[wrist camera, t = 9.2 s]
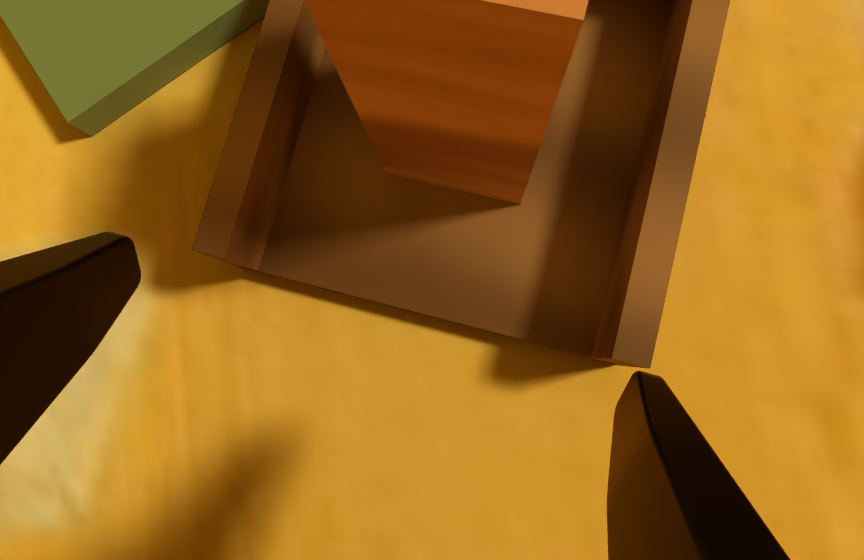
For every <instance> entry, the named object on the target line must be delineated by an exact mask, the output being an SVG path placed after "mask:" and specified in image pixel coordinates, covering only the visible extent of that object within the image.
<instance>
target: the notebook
mask: <svg viewBox="0 0 864 560" xmlns="http://www.w3.org/2000/svg"><path fill="white" fill-rule="evenodd" d="M269 2H270V0H0V16H1V18H2V19H3V21H4V22H5V24H6V26H7V27H8V29H9V30H10V32H11V34H12V35H13V37H14V38H15V40H16V42H17V43H18V45H19V46H20V48H21V49H22V51H23V53H24V54H25V56H26V57H27V59H28V61H29V62H30V64H31V65H32V67H33V69H34V70H35V72H36V73H37V75H38V76H39V78H40V80H41V81H42V83H43V84H44V86H45V88H46V89H47V91H48V92H49V94H50V96H51V97H52V99H53V100H54V102H55V103H56V105H57V107H58V108H59V110H60V111H61V113H62V115H63V116H64V118H65V119H66V121H67V123H69V124H71V125H72V126H74V127H76V128H78V129H80V130H81V131H83V132H85V133H87V134H88V135H90V136H93V135H94V134H96V133H97V132H99V131H100V130H101V129H103V128H104V127H106V126H107V125H109V124H110V123H112V122H113V121H114V120H116V119H117V118H119V117H120V116H122V115H123V114H124V113H126V112H127V111H129V110H130V109H132V108H133V107H134V106H136V105H137V104H139V103H140V102H142V101H143V100H145V99H146V98H147V97H149V96H150V95H152V94H153V93H155V92H156V91H157V90H159V89H160V88H162V87H163V86H165V85H166V84H167V83H169V82H170V81H172V80H173V79H175V78H176V77H177V76H179V75H180V74H182V73H183V72H185V71H186V70H188V69H189V68H190V67H192V66H193V65H195V64H196V63H198V62H199V61H200V60H202V59H203V58H205V57H206V56H208V55H209V54H210V53H212V52H213V51H215V50H216V49H218V48H219V47H221V46H222V45H223V44H225V43H226V42H228V41H229V40H231V39H232V38H233V37H235V36H236V35H238V34H239V33H241V32H242V31H243V30H245V29H246V28H248V27H249V26H251V25H252V24H253V23H255V22H256V21H258V20H259V19H261V18H262V17H264V16H265V14H266V11H267V8H268V5H269Z"/></svg>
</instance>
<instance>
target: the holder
mask: <svg viewBox="0 0 864 560" xmlns="http://www.w3.org/2000/svg"><path fill="white" fill-rule="evenodd" d="M729 3H730V0H588V5H587V9H586V13H585V17H584V21H583V24H582V27H581V30H580V32H579V35H578V38H577V41H576V44H575V47H574V50H573V53H572V56H571V59H570V61H569V64H568V67H567V70H566V73H565V76H564V79H563V82H562V85H561V88H560V91H559V93H558V96H557V99H556V102H555V105H554V108H553V111H552V114H551V117H550V120H549V123H548V125H547V128H546V131H545V134H544V137H543V140H542V143H541V146H540V149H539V152H538V154H537V157H536V160H535V163H534V166H533V169H532V172H531V175H530V178H529V181H528V184H527V186H526V189H525V192H524V195H523V198H522V201H521V204H520V205H519V204H515V203H510V202H506V201H502V200H497V199H493V198H489V197H484V196H480V195H476V194H472V193H467V192H463V191H459V190H454V189H450V188H446V187H441V186H437V185H433V184H428V183H424V182H420V181H415V180H411V179H407V178H402V177H398V176H394V175H389V174H386V172H385V170H384V168H383V166H382V164H381V162H380V159H379V157H378V155H377V153H376V151H375V149H374V147H373V145H372V143H371V141H370V138H369V136H368V134H367V132H366V130H365V128H364V126H363V124H362V122H361V120H360V118H359V115H358V113H357V111H356V109H355V107H354V105H353V103H352V101H351V99H350V97H349V95H348V92H347V90H346V88H345V86H344V84H343V82H342V80H341V78H340V76H339V74H338V72H337V69H336V67H335V65H334V63H333V61H332V59H331V57H330V55H329V53H328V51H327V48H326V46H325V44H324V42H323V40H322V38H321V36H320V34H319V32H318V30H317V28H316V25H315V23H314V21H313V19H312V17H311V15H310V13H309V11H308V9H307V7H306V5H305V2H304V0H270V2H269V5H268V8H267V11H266V14H265V18H264V21H263V24H262V27H261V30H260V34H259V37H258V40H257V43H256V46H255V50H254V53H253V56H252V59H251V62H250V66H249V69H248V72H247V75H246V78H245V81H244V85H243V88H242V91H241V94H240V97H239V101H238V104H237V107H236V110H235V113H234V117H233V120H232V123H231V126H230V129H229V133H228V136H227V139H226V142H225V145H224V148H223V152H222V155H221V158H220V161H219V164H218V168H217V171H216V174H215V177H214V180H213V184H212V187H211V190H210V193H209V196H208V199H207V203H206V206H205V209H204V212H203V215H202V219H201V222H200V225H199V228H198V231H197V235H196V238H195V241H194V244H193V247H192V250H194V251H196V252H199V253H202V254H205V255H208V256H210V257H213V258H216V259H219V260H222V261H224V262H227V263H230V264H233V265H236V266H238V267H242V268H245V269H249V270H253V271H257V272H261V273H265V274H268V275H272V276H276V277H280V278H284V279H288V280H292V281H295V282H299V283H303V284H307V285H311V286H315V287H318V288H322V289H326V290H330V291H334V292H338V293H342V294H345V295H349V296H353V297H357V298H361V299H365V300H368V301H372V302H376V303H380V304H384V305H388V306H392V307H395V308H399V309H403V310H407V311H411V312H415V313H418V314H422V315H426V316H430V317H434V318H438V319H442V320H445V321H449V322H453V323H457V324H461V325H465V326H468V327H472V328H476V329H480V330H484V331H488V332H492V333H495V334H499V335H503V336H507V337H511V338H515V339H518V340H522V341H526V342H530V343H534V344H538V345H542V346H545V347H549V348H553V349H557V350H561V351H565V352H568V353H572V354H576V355H580V356H584V357H588V358H592V359H595V360H599V361H603V362H607V363H611V364H615V365H621V366H631V367H640V368H650V366H651V362H652V357H653V353H654V348H655V343H656V339H657V334H658V330H659V325H660V320H661V316H662V311H663V307H664V302H665V297H666V293H667V288H668V284H669V279H670V274H671V270H672V265H673V261H674V256H675V251H676V247H677V242H678V238H679V233H680V228H681V224H682V219H683V215H684V210H685V205H686V201H687V196H688V192H689V187H690V182H691V178H692V173H693V168H694V164H695V159H696V155H697V150H698V145H699V141H700V136H701V132H702V127H703V122H704V118H705V113H706V109H707V104H708V99H709V95H710V90H711V86H712V81H713V76H714V72H715V67H716V63H717V58H718V53H719V49H720V44H721V40H722V35H723V30H724V26H725V21H726V17H727V12H728V7H729Z"/></svg>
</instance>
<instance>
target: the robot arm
mask: <svg viewBox="0 0 864 560" xmlns="http://www.w3.org/2000/svg"><path fill="white" fill-rule="evenodd" d="M140 279H141V270H140V266H139V262H138V258H137V254H136V250H135V246H134V243H133V241H132V240H131V239H130V238H129V237H127V236H124V235H120V234H116V233H112V232H104V233H100V234H96V235H93V236H89V237H86V238H82V239H79V240H75V241H72V242H68V243H65V244H61V245H57V246H54V247H50V248H47V249H43V250H40V251H36V252H33V253H29V254H26V255H22V256H19V257H15V258H11V259H8V260H4V261H1V262H0V465H1V463H2V462H3V461H4V460H5V459H6V457H7V456H8V455H9V454H10V453H11V451H12V450H13V449H14V448H15V447H16V445H17V444H18V443H19V442H20V441H21V439H22V438H23V437H24V436H25V435H26V433H27V432H28V431H29V430H30V429H31V427H32V426H33V425H34V424H35V422H36V421H37V420H38V419H39V418H40V416H41V415H42V414H43V413H44V412H45V410H46V409H47V408H48V407H49V406H50V404H51V403H52V402H53V401H54V400H55V398H56V397H57V396H58V395H59V394H60V392H61V391H62V390H63V389H64V388H65V386H66V385H67V384H68V383H69V382H70V380H71V379H72V378H73V377H74V376H75V374H76V373H77V372H78V371H79V370H80V368H81V367H82V366H83V365H84V364H85V362H86V361H87V360H88V359H89V357H90V356H91V355H92V354H93V352H94V351H95V349H96V348H97V347H98V345H99V344H100V342H101V341H102V340H103V338H104V337H105V335H106V334H107V332H108V331H109V329H110V328H111V326H112V325H113V323H114V322H115V320H116V319H117V317H118V316H119V314H120V313H121V311H122V310H123V308H124V307H125V305H126V304H127V302H128V301H129V299H130V298H131V296H132V295H133V293H134V292H135V290H136V289H137V287H138V285H139V283H140ZM607 530H608V560H790V558H789V557H788V556H787V554H786V553H785V551H784V550H783V548H782V547H781V546H780V544H779V543H778V541H777V540H776V538H775V537H774V536H773V534H772V533H771V531H770V530H769V528H768V527H767V526H766V524H765V523H764V521H763V520H762V519H761V517H760V516H759V514H758V513H757V511H756V510H755V509H754V507H753V506H752V504H751V503H750V501H749V500H748V499H747V497H746V496H745V494H744V493H743V491H742V490H741V489H740V487H739V486H738V484H737V483H736V481H735V480H734V479H733V477H732V476H731V474H730V473H729V472H728V470H727V469H726V467H725V466H724V464H723V463H722V462H721V460H720V459H719V457H718V456H717V454H716V453H715V452H714V450H713V449H712V447H711V446H710V444H709V443H708V442H707V440H706V439H705V437H704V436H703V435H702V433H701V432H700V430H699V429H698V427H697V426H696V425H695V423H694V422H693V420H692V419H691V417H690V416H689V415H688V413H687V412H686V410H685V409H684V407H683V406H682V405H681V403H680V402H679V400H678V399H677V398H676V396H675V395H674V393H673V392H672V390H671V389H670V388H669V386H668V385H667V383H666V382H665V381H664V379H663V378H661V377H660V376H657V375H653V374H649V373H646V372H642V371H637V372H635V373H634V374H633V375H632V376H631V378H630V380H629V382H628V384H627V386H626V388H625V389H624V391H623V393H622V395H621V397H620V399H619V401H618V403H617V405H616V409H615V414H614V423H613V434H612V445H611V456H610V468H609V479H608V491H607Z"/></svg>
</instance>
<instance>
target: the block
mask: <svg viewBox="0 0 864 560" xmlns="http://www.w3.org/2000/svg"><path fill="white" fill-rule="evenodd" d="M304 2H305V5H306V7H307V9H308V11H309V13H310V15H311V17H312V19H313V21H314V23H315V25H316V28H317V30H318V32H319V34H320V36H321V38H322V40H323V42H324V44H325V46H326V48H327V51H328V53H329V55H330V57H331V59H332V61H333V63H334V65H335V67H336V69H337V72H338V74H339V76H340V78H341V80H342V82H343V84H344V86H345V88H346V90H347V92H348V95H349V97H350V99H351V101H352V103H353V105H354V107H355V109H356V111H357V113H358V115H359V118H360V120H361V122H362V124H363V126H364V128H365V130H366V132H367V134H368V136H369V138H370V141H371V143H372V145H373V147H374V149H375V151H376V153H377V155H378V157H379V159H380V162H381V164H382V166H383V168H384V170H385V172H386V174H389V175H394V176H398V177H402V178H407V179H411V180H415V181H420V182H424V183H428V184H433V185H437V186H441V187H446V188H450V189H454V190H459V191H463V192H467V193H472V194H476V195H480V196H484V197H489V198H493V199H497V200H502V201H506V202H510V203H515V204H519V205H520V204H521V201H522V198H523V195H524V192H525V189H526V186H527V184H528V181H529V178H530V175H531V172H532V169H533V166H534V163H535V160H536V157H537V154H538V152H539V149H540V146H541V143H542V140H543V137H544V134H545V131H546V128H547V125H548V123H549V120H550V117H551V114H552V111H553V108H554V105H555V102H556V99H557V96H558V93H559V91H560V88H561V85H562V82H563V79H564V76H565V73H566V70H567V67H568V64H569V61H570V59H571V56H572V53H573V50H574V47H575V44H576V41H577V38H578V35H579V32H580V30H581V27H582V24H583V21H584V17H585V13H586V9H587V5H588V0H304Z"/></svg>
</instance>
